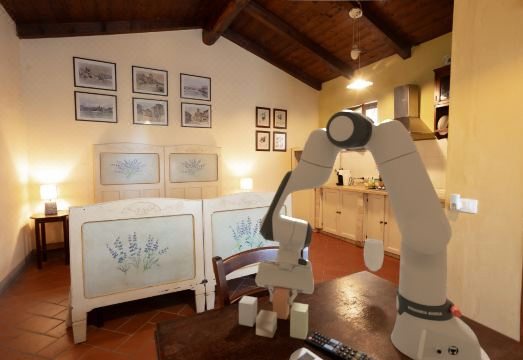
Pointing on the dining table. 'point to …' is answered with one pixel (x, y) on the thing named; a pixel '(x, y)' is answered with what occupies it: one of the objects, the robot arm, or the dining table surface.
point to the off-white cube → (266, 323)
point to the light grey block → (247, 311)
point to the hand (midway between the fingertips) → (280, 302)
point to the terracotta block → (281, 302)
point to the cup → (373, 254)
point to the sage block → (299, 320)
